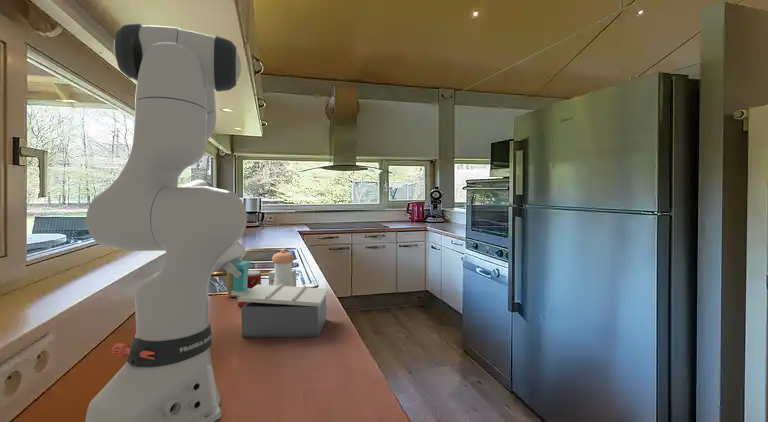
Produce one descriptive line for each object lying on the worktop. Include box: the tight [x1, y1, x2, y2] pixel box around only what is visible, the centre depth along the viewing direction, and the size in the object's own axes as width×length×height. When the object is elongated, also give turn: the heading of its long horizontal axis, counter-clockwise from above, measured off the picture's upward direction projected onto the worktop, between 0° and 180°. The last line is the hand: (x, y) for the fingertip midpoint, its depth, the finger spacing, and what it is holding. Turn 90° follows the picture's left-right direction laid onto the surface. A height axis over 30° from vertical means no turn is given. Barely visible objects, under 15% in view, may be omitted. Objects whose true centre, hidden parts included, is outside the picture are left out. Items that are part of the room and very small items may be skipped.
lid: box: [231, 260, 329, 307], centre depth 110 cm, size 15×25×9 cm, turn 89°
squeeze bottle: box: [225, 257, 244, 298], centre depth 146 cm, size 8×8×18 cm
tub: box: [240, 296, 327, 338], centre depth 111 cm, size 14×20×8 cm
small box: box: [268, 269, 297, 287], centre depth 140 cm, size 8×6×10 cm
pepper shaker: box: [271, 249, 295, 287], centre depth 130 cm, size 7×7×19 cm
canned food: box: [236, 269, 262, 308], centre depth 135 cm, size 8×8×11 cm
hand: (243, 274), depth 110 cm, fingers closed on lid, 3 cm apart
